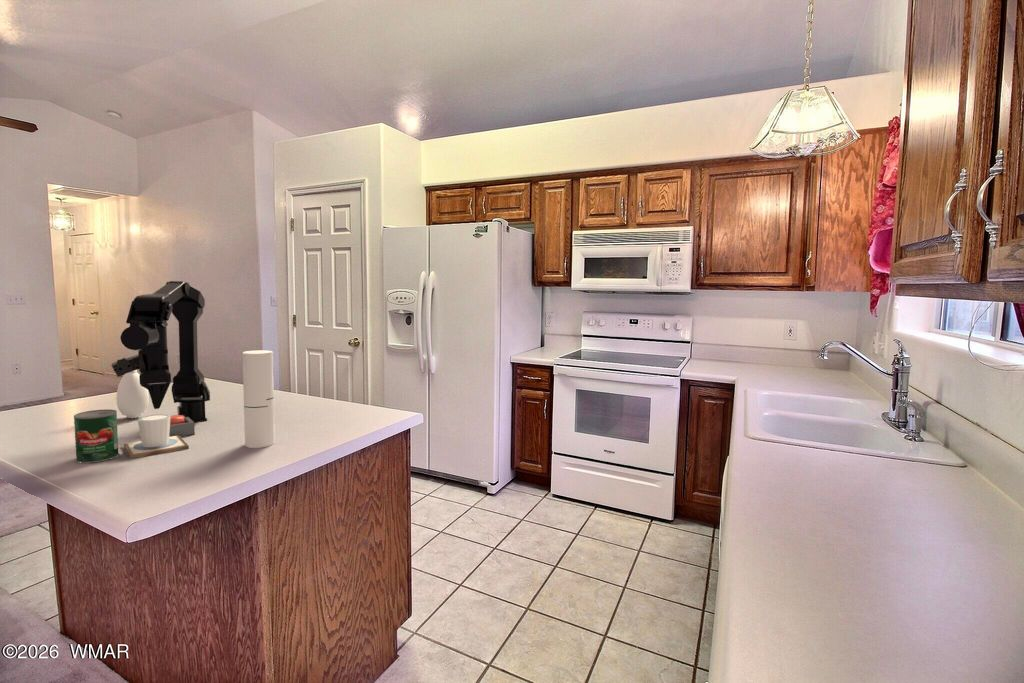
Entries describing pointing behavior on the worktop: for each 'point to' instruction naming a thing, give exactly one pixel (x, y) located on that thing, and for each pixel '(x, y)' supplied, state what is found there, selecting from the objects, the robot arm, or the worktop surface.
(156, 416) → the white cup
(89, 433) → the canned tomato
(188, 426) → the button housing
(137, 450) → the wooden picture frame
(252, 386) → the cylindrical container
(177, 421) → the button
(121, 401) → the sauce bottle
